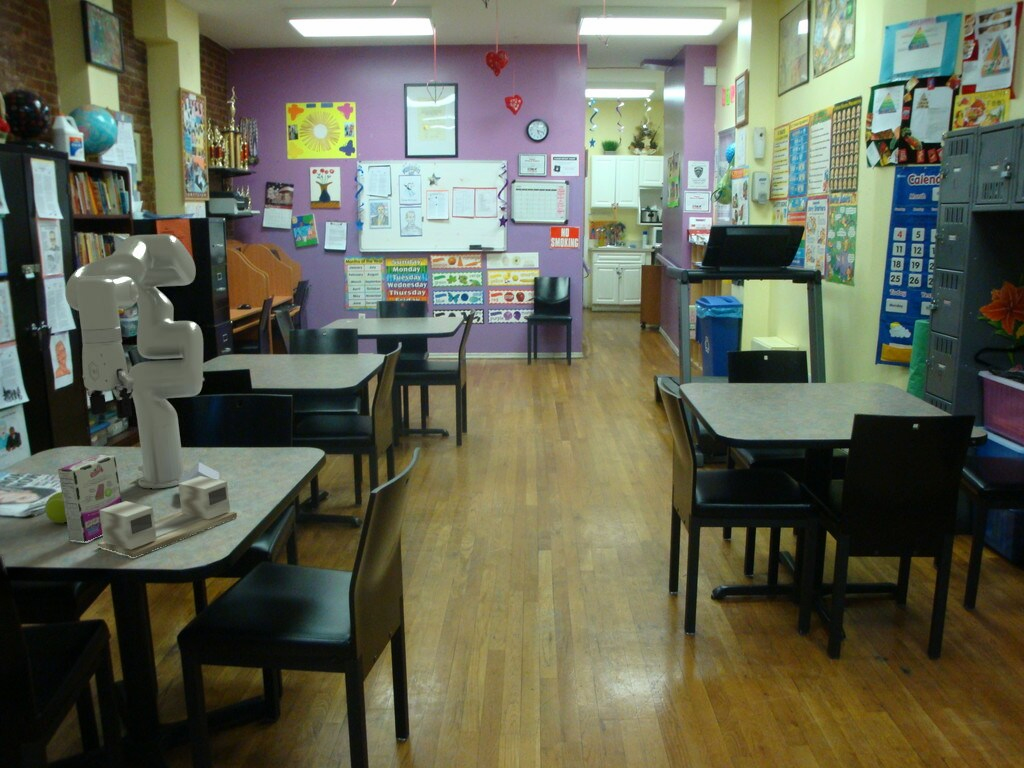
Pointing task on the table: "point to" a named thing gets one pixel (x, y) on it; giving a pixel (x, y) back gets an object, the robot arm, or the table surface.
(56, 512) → the tennis ball
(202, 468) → the white angular piece
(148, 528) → the rail board
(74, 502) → the candy bar box
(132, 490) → the table surface
